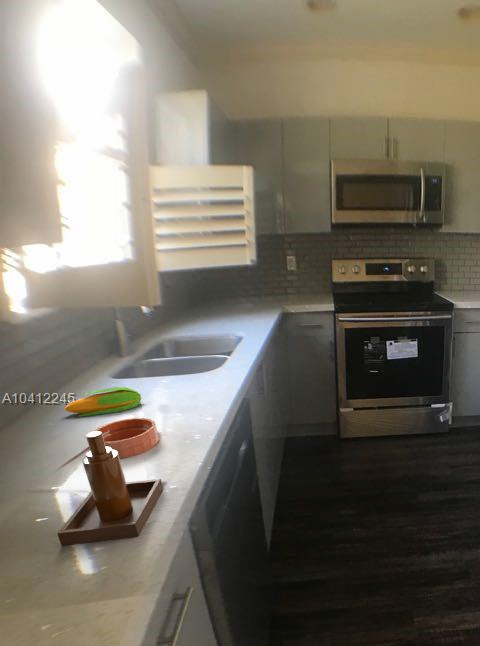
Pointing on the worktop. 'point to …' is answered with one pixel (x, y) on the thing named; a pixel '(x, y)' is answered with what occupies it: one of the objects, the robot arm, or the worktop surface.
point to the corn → (105, 402)
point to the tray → (93, 529)
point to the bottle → (106, 479)
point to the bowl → (130, 436)
